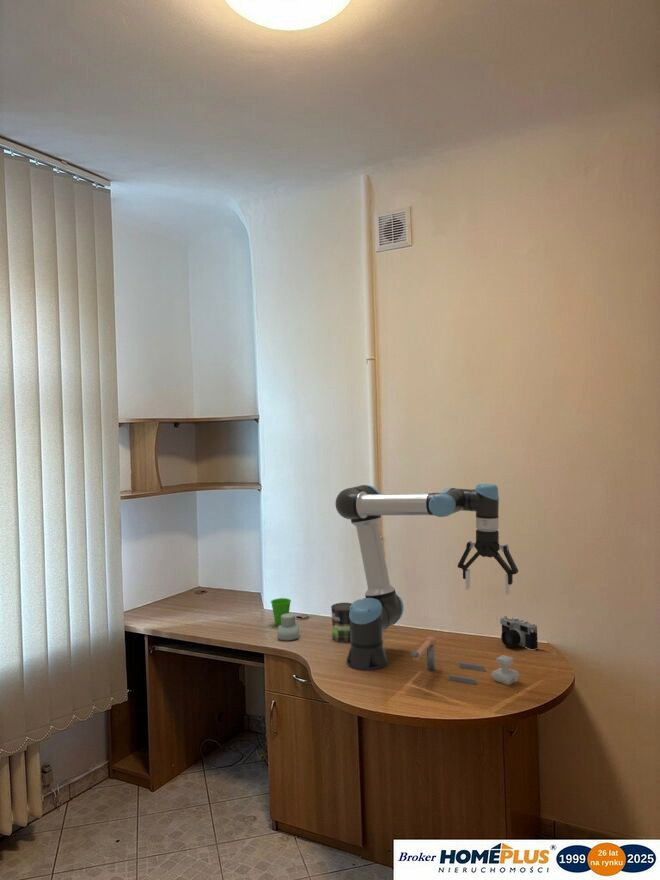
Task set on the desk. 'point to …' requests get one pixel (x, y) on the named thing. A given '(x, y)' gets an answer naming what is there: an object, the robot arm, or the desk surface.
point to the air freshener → (288, 628)
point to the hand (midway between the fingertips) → (487, 591)
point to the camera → (518, 633)
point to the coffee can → (341, 622)
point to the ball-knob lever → (423, 647)
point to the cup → (280, 608)
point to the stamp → (505, 671)
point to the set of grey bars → (462, 665)
